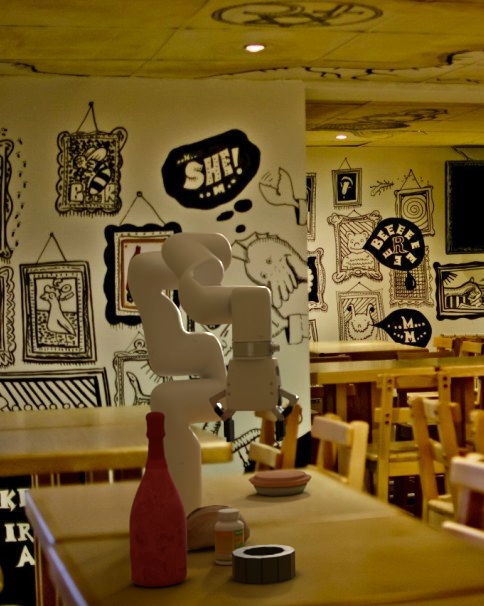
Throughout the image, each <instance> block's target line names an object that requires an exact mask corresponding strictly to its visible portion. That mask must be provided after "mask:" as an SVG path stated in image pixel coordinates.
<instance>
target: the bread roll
mask: <svg viewBox="0 0 484 606" xmlns="http://www.w3.org/2000/svg"><path fill="white" fill-rule="evenodd" d="M222 509H234V508H233V507H230V506H228V505H222V504H221V505H220V504H213V505H205V506H203V507H200V508H197V509H195V510H193V511H192V512H191V513H190V514H189V515H188V516H187V517H186V522H187V550H197V549H203V548H211V547H215V524H216V523H217V522H219V519H218V511H219V510H222ZM239 517H240V518H238V520H239V521H241V522H242V523H243V525H244V543H246V542H247V541H248V539H249V538H250V536H251V528H250V525H249V523H248V522H247V520H246V519H245V517H244V516H243V514H242V513H240V516H239Z"/></svg>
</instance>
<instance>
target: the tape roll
mask: <svg viewBox="0 0 484 606" xmlns="http://www.w3.org/2000/svg"><path fill="white" fill-rule="evenodd" d="M231 567H232V568H231V571H232V572H231V573H232V574H231V575H232V577H231V578H232V579H233V580H234V581H235V582H238V583H243V584H248V585H249V584H250V585H252V584H253V585H255V584H256V585H262V584H265V585H266V584H275V583H280V582H281V583H282V582H285V581H288V580H291V579H292V578H294V577H295V576H296V550H295V549H294V548H293V547H292V546H289V545H283V544H257V545H255V544H254V545H248V546H244V547H243V548H239V549H236V550H235V551H233V552H232V565H231Z"/></svg>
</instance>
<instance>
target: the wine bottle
mask: <svg viewBox="0 0 484 606" xmlns="http://www.w3.org/2000/svg"><path fill="white" fill-rule="evenodd" d="M164 422H165V415H164V413H163V412H160V411H153V412H151V411H149V412H147V413H146V414H145V423H146V432H145V436H146V438H147V440H148V441H147V442H148V444H147V457H146V461H145V466H144V472H143V474H142V477H141V480H140V482H139V484H138V487H137V489H136V492H135V494H134V497H133V500H132V503H131V508H130V511H129V512H130V513H129V522H128V524H129V525H128V529H129V530H128V531H129V533H128V535H129V537H128V538H129V560H130V573H131V580H132V582H133V583H134V584H135V585H137V586H140V587H144V588H161V587H163V588H164V587H168V586H175V585H177V584H180V583H182V582H183V581H185V579H186V578H187V575H188V549H187V522H186V513H185V508H184V505H183V502H182V499H181V496H180V494H179V491H178V489H177V487H176V485H175V483H174V481H173V479H172V476H171V474H170V472H169V470H168V464H167V460H166V458H165V452H164V437H165V435H166V432H165V429H164Z"/></svg>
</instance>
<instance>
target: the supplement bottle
mask: <svg viewBox="0 0 484 606" xmlns="http://www.w3.org/2000/svg"><path fill="white" fill-rule="evenodd" d="M240 514H241V512H240V510H239V509H238V508H233V509H222V510H219V511H218V519H219V522H217V523H216V524H215V546H214V561H215V563H216V564H217V565H221V566H232V552H233V551H235V550H236V549H239V548H243V547H245V542H244V525H243V523H242V522H241V521H239V520H238V518H240V517H239V516H240Z"/></svg>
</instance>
